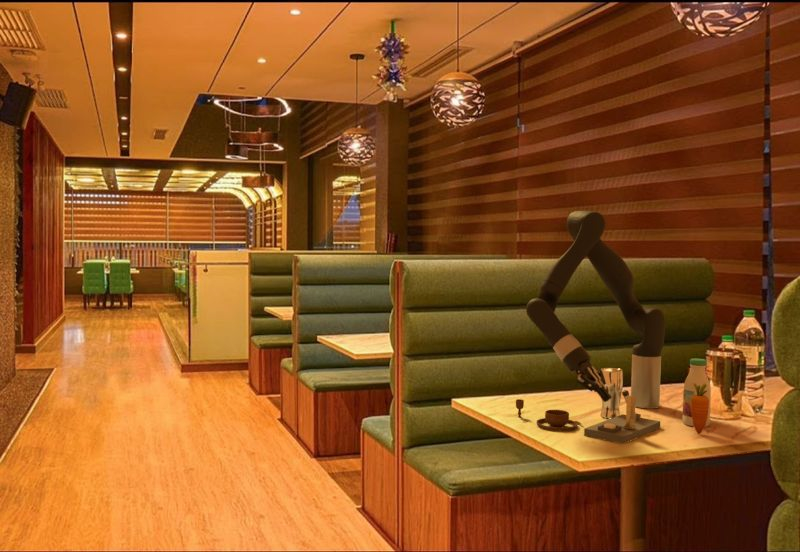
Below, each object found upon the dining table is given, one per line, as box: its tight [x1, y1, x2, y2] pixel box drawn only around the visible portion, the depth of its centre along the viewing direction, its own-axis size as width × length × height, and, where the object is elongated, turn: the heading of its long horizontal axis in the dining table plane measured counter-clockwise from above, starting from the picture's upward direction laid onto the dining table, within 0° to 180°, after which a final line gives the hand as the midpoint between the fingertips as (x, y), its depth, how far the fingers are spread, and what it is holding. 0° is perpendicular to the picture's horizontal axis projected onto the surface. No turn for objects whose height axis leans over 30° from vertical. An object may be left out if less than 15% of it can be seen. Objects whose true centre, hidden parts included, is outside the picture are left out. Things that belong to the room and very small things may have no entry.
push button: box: [604, 423, 616, 429], centre depth 209 cm, size 3×3×1 cm
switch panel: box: [583, 412, 661, 445], centre depth 215 cm, size 24×12×4 cm, turn 137°
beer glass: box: [600, 367, 624, 419], centre depth 232 cm, size 7×7×15 cm
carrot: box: [691, 383, 709, 435], centre depth 213 cm, size 5×5×15 cm
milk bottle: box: [682, 357, 712, 428], centre depth 224 cm, size 8×8×20 cm
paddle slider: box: [624, 395, 636, 429], centre depth 210 cm, size 3×2×9 cm
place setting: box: [515, 398, 584, 432], centre depth 224 cm, size 18×20×6 cm
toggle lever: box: [621, 389, 637, 416], centre depth 222 cm, size 2×2×9 cm
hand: (608, 399), depth 215 cm, fingers closed
